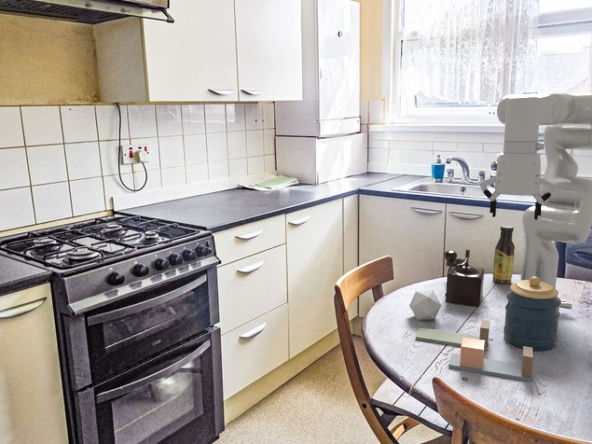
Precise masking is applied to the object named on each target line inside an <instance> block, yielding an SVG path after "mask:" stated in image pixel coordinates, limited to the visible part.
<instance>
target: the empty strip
mask: <svg viewBox="0 0 592 444" xmlns="http://www.w3.org/2000/svg"><path fill="white" fill-rule="evenodd" d="M480 320H481V322H480V328H479V331H480V332H479V335H473V334H467V333H460V332H453V331H446V330H439V329H431V328H425V327H418V330H417V332H416V335H415V340H417V341H423V342H430V343H436V344H441V345H442V344H443V345H448V346H455V347H461V344H462V340H463V337H465V338H472V339H479V340H485V346H484V351H488V346H489V335H490V325H491V324H490V320H484V319H480Z"/></svg>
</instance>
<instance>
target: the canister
mask: <svg viewBox="0 0 592 444" xmlns="http://www.w3.org/2000/svg"><path fill="white" fill-rule="evenodd" d="M505 296H506V297H505V298H506V300H507V303H506V305H505V307H504V308H505V316H504V326H503V334H504V335H503V336H504V339H505V340H506V341H507V342H508V343H509V344H511V345H513V346H515V347H517V348H521V349H523V346H526V347H532V348H533V351H547V350H551V349H553V348H555V347H556V343H557V341H558V338H559V337H558V331H559V330H558V328H559V320H560V316H561V312H560V310H559V311H558V307H559V306H560V305H561V300H562V299H560V298H559V291H558V289H556V288H553V287H552V286H551V285H550V284H548V283H545V282H542V281H540V279H539V278H538V277H535V276H533V277H531V278H530V280H521V279H520V280H518V281H517V282H514V283H512V284H511V285H510V291H508V292H507V293H506V295H505Z"/></svg>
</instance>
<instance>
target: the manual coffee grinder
mask: <svg viewBox="0 0 592 444" xmlns="http://www.w3.org/2000/svg"><path fill="white" fill-rule="evenodd" d="M470 252H471V250H470V249H466V250H465V254H464V256H465V258H464V262H463V263H462V264H459V265H457V264H455V262H454V261H455V259H458V254H457V252H456V251H454V250H452V249H451V250H450V249H449V250H446V251H445V252H444V253H443V257H444V260H445V261H446V262H445V266H447V267H448V268H449V267H451V268H450V270H449V272H448V271H447V275H446V288H445V289H446V291H445V294H444V296H445V303H448V304H449V303H450V304H453V305H454V304H455V305H458V306H459V305H460V306H466V307H477V308H479V307H480V306H481V303H482V299H483V295H484V294H483V293H484V292H483V291H484V279H485V268H481V267H475V266H472V265H470V264H469V259H470V257H471V255H470Z"/></svg>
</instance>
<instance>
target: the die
mask: <svg viewBox="0 0 592 444" xmlns="http://www.w3.org/2000/svg"><path fill="white" fill-rule="evenodd" d="M408 306H409V308H410V310H411V312H412V313H413V315H414V316H415V318H416V320H418V321H424V320H425V321H426V320H427V321H429V320H433V321H434V320H436V317H437V316H438V314H439V312H440V310H441V307H442V303H441V302H440V300H439V298H438V297H437V296H436V294H435V292H434V290H425V291H424V290H422V291H415V293H414V295H413V297H412V299H411V301H410V304H409V305H408Z"/></svg>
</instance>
